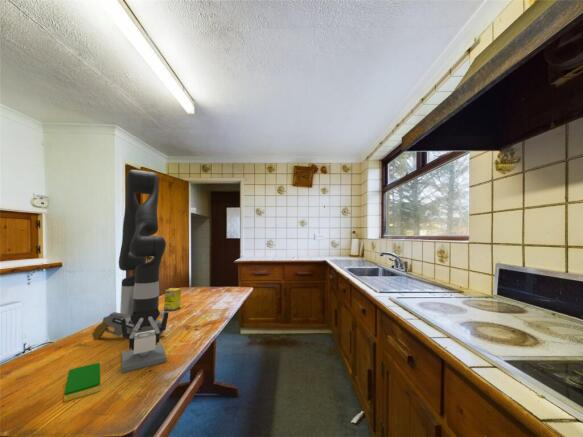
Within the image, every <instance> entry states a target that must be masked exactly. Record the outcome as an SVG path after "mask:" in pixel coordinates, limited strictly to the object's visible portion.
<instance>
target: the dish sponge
mask: <svg viewBox="0 0 583 437" xmlns="http://www.w3.org/2000/svg"><path fill="white" fill-rule="evenodd" d="M100 391H101V362H95V363H91V364H88V365H84V366H79V367H75V368H71V369H69V370H68V373H67V379H66V383H65V387H64V394H63V402H68V401H72V400H74V399H77V398H82V397H83V396H84V397H85V396H88V395H91V394H94V393H98V392H100Z"/></svg>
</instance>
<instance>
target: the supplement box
mask: <svg viewBox="0 0 583 437" xmlns="http://www.w3.org/2000/svg"><path fill="white" fill-rule="evenodd" d="M181 292H182V288H177V287H170V288H168V289H165V290H164V299H163V300H164V301H163V302H164V303H163V304H164V305H163V311H167V312H169V311H170V312H175V311H177V310H179V309H180V308H181Z"/></svg>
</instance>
